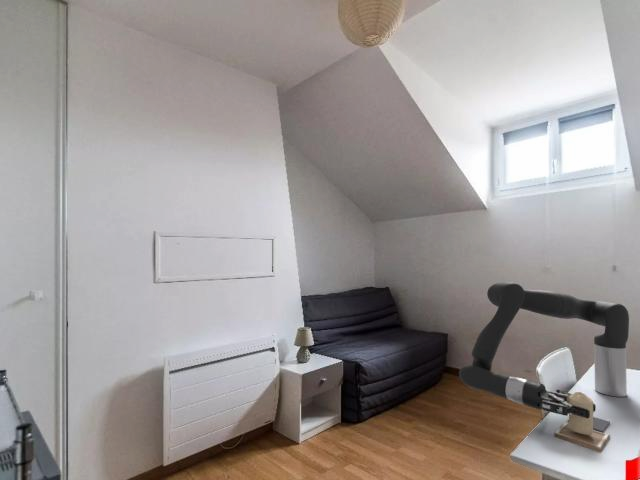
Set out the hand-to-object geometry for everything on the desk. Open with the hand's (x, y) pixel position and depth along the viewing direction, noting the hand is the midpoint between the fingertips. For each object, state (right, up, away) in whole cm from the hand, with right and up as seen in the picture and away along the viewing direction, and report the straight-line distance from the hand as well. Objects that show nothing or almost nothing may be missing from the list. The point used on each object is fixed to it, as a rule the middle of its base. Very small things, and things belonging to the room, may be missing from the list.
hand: (592, 411), depth 99 cm
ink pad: (+7, -8, +10) cm, 15 cm away
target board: (-2, -8, +2) cm, 8 cm away
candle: (-2, -6, +2) cm, 7 cm away
